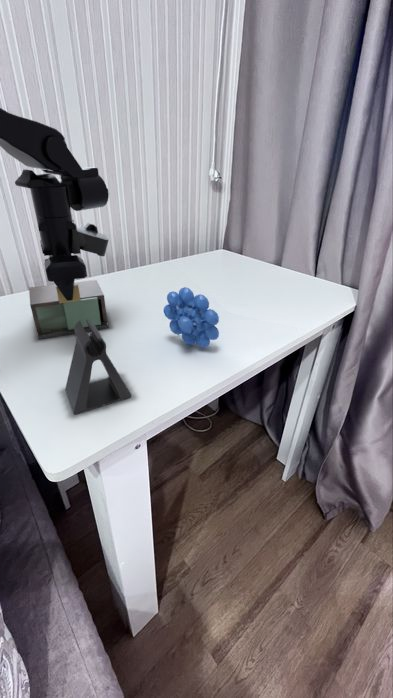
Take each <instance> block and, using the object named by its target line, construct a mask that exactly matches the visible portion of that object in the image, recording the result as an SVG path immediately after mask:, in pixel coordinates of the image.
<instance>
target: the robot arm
mask: <svg viewBox="0 0 393 698" xmlns="http://www.w3.org/2000/svg"><path fill="white" fill-rule="evenodd" d="M0 147H1V148H2V149H3V150H4V151H5V152H6V153H7V154H8V155H10V156H11V157H12V158H14V159H15V160H17V161H18V162H20V164H21V163H22V164H23V165H24V166H26V167H27V168H31V169H36V170H41V171H42V172H44V173H39V174H36V173H35V172H34V171H33V170H31V169H25V168H23V170H22V172H21V174H20V175H19V176H18V177H17V179H16V180H15V181H14V184H15V186H16V187H20V188H26V189H29V190H30V194H31V199H32V204H33V209H34V214H35V219H36V223H37V227H38V233H39V237H40V241H39V243H40V247H41V253H42V254H43V256H46V257H47V256H48V258H45V259H44V271H45V275H46V280H47V281H48V282H50V283H51V282H53V283H54V285H56V286H57V287H58V289H59V290H60V291H61V293H62V294H63V296H64V297H65V299H66V300H67V301H70V300H73V290H74V282H75V280H79V279H86V278H87V277H88V271H87V266H86V264H85V261H84V260H83V259H82V257H80V256H79V255H80V254H81V251H84V252H87V253H90V254H91V253H92V254H96V255H97V256H99V257H105V256H106V253H107V249H108V246H109V245H108V244H109V238H108V237H107V236H106V235H105V234H103V233H102V232H99V229H98V226H97V225H96V224H94V223H90V222H87V223H86V224H85V225H84V226H83V227H82V226H81V227H79V226H77V223H75V221H74V219H73V215H72V210H73V211H76V212H80V211H86V210H92V209H99V208H103V207H105V206H106V205H107V204H108V202H109V197H110V195H109V189H108V187H107V184H106V182H105V180H104V179H103V178H102V176H100V174H99V168H98V167H95V166H94V167H93V166H84V167H82V166H81V165H80V164H79V162H78V160H77V159H76V158H75V156H74V155H73V153H72V152H71V151H70V149H69V147H68V145H67V142H66V138H65V136H64V135H63V133H62V132H60V131H59V129H56V128H54V127H52V126H49V125H46V124H44V123H42V122H39V121H36V120H33V119H29V118H26V117H23V116H19V115H17V114H13V113H11V112H9V111H6V110H5V109H3V108H1V107H0ZM54 175H56V176H60V178H57V177H56V176H54Z"/></svg>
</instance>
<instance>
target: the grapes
mask: <svg viewBox="0 0 393 698" xmlns="http://www.w3.org/2000/svg"><path fill="white" fill-rule="evenodd" d="M166 300H167V304H166V305H165V306H164V307H163V311H162V312H163V314H164V316H165V318H167V319H168V320H170V322H169V329H170V331H171V333H173V334H174V335H177V336H179V335H181V339H182V342H183V343H184V344H185V345H187V346H194V345H195V344H197V346H199V347H200V348H208V347H209V346H210V344H211V341H216V340H217V339H218V338H219V337H220V331H219V329H218V327H217V326H216V325H218V324H219V322H220V317H219V314H218V313H217V311H215V310H214V309H211V308H210V302H209V299H208V298H207V296H205V295H204V294H201V293H200V294H196V295H195V294H194V291H193V290H191V288H189V287H186V286H184V287H181V288H180V289H179V290H178V292H177V291H170V292H168V294H167V295H166Z"/></svg>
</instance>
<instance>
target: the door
mask: <svg viewBox="0 0 393 698" xmlns="http://www.w3.org/2000/svg"><path fill="white" fill-rule="evenodd" d="M56 290H57V295H58V299H59V303H63V305H64V310H65V315H66V321H67V326H68V330H70V329H74V327H75V325H76V323H77V322H79V321H80V322H81V324H82V325H83V327H89V326H88V324H87V322H86V320H90V321H91V322H93V324H94V325H101V321H100V313H99V305H98V298H97V297H93V298H86V299H80V293H79V287H78V284H74V290H73V300H70V301H67V300H66V299H65V297H64V296H63V294H62V293H61V291H60V290H59V289H58V287H57V286H56Z"/></svg>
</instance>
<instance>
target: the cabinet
mask: <svg viewBox="0 0 393 698" xmlns="http://www.w3.org/2000/svg"><path fill="white" fill-rule="evenodd" d="M74 284H78V287H79V293H80V299H86V298H93V297H97V298H98V305H99V313H100V321H101V325H95V327H96V329H97V330H98V331H99V330H105V329H110V325H109V322H108V316H107V309H106V308H107V307H106V299H105V294H104V291H103V290H102V289H101V286H100V284H99V283H98V280H97V279H93V280H92V279H91V280H84V281H74ZM28 294H29V306H30V309H31V314H32V317H33V321H34V325H35V326H34V327H35V330H36V334H37V339H38V340H44V339H50V338H56V337H62V336H68V335H76V334H75V332H74V329H70V330H68V326H67V321H66V315H65V310H64V305H63V303H59V299H58V295H57V290H56V284H48V285H47V284H46V285H39V286H30V287H28ZM84 329H85V331H86V333H88V332H92V331H91V329H90V327H84Z"/></svg>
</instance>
